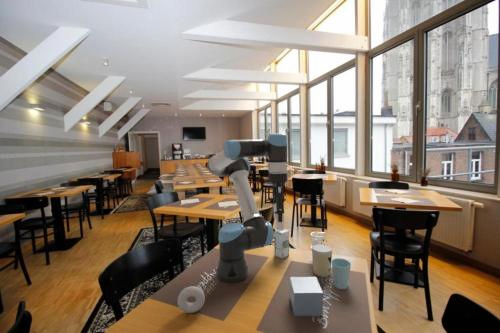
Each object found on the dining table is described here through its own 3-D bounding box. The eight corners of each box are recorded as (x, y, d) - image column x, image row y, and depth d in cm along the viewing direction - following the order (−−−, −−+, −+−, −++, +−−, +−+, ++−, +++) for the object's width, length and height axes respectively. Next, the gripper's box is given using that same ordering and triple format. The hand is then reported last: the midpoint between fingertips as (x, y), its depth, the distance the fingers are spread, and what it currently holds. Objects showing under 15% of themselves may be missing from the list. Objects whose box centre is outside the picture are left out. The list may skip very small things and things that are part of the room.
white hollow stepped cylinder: (325, 263, 123) (325, 234, 122) (311, 262, 125) (311, 234, 123) (323, 256, 130) (323, 229, 129) (310, 256, 132) (310, 229, 130)
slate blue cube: (294, 316, 87) (294, 293, 86) (290, 297, 97) (290, 276, 96) (322, 315, 87) (323, 292, 86) (315, 297, 97) (315, 276, 96)
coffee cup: (333, 278, 110) (333, 253, 109) (312, 276, 112) (312, 251, 111) (330, 267, 119) (331, 244, 118) (311, 266, 121) (311, 243, 120)
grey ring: (177, 317, 88) (176, 291, 87) (178, 310, 91) (177, 285, 90) (205, 313, 89) (204, 287, 88) (205, 307, 93) (204, 282, 92)
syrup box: (281, 252, 137) (280, 227, 135) (289, 255, 133) (289, 230, 131) (274, 255, 133) (274, 230, 132) (282, 259, 129) (282, 232, 127)
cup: (343, 279, 109) (344, 257, 108) (354, 289, 101) (354, 266, 100) (328, 281, 108) (328, 259, 106) (337, 292, 100) (337, 268, 99)
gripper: (291, 176, 85) (292, 235, 87) (283, 168, 110) (283, 214, 112) (270, 177, 85) (271, 235, 88) (267, 169, 110) (267, 214, 112)
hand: (278, 223), depth 100 cm, fingers open, 13 cm apart
